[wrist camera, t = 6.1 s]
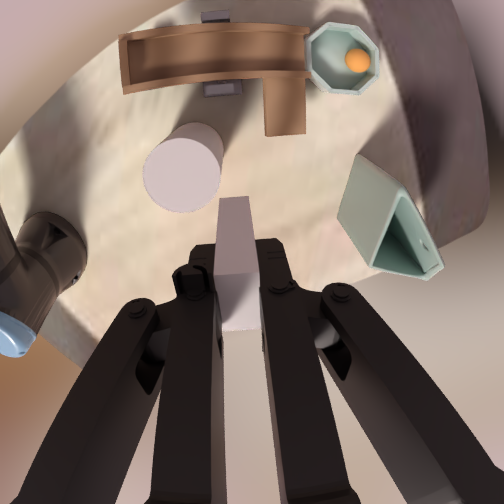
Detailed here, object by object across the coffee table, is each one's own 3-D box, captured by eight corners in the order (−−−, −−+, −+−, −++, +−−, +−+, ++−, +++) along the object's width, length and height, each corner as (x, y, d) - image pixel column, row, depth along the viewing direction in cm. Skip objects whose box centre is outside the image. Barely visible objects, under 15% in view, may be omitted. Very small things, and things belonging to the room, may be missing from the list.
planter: (314, 177, 42) (367, 248, 25) (359, 152, 40) (435, 207, 23) (354, 253, 50) (401, 336, 33) (391, 232, 48) (450, 306, 31)
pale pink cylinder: (175, 115, 36) (153, 129, 26) (231, 132, 38) (231, 151, 27) (160, 169, 40) (136, 201, 30) (213, 184, 42) (207, 221, 31)
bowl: (301, 91, 35) (307, 92, 32) (298, 24, 29) (304, 19, 26) (368, 95, 35) (379, 97, 32) (367, 32, 30) (378, 29, 27)
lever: (133, 157, 28) (132, 162, 26) (120, 39, 21) (118, 33, 19) (302, 132, 34) (314, 136, 31) (299, 30, 26) (312, 26, 24)
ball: (371, 73, 29) (369, 74, 32) (371, 48, 27) (369, 51, 30) (344, 70, 30) (345, 71, 33) (343, 45, 28) (344, 49, 31)
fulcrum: (204, 97, 35) (195, 100, 26) (199, 26, 29) (189, 9, 21) (242, 93, 35) (245, 96, 27) (238, 23, 29) (239, 5, 21)
